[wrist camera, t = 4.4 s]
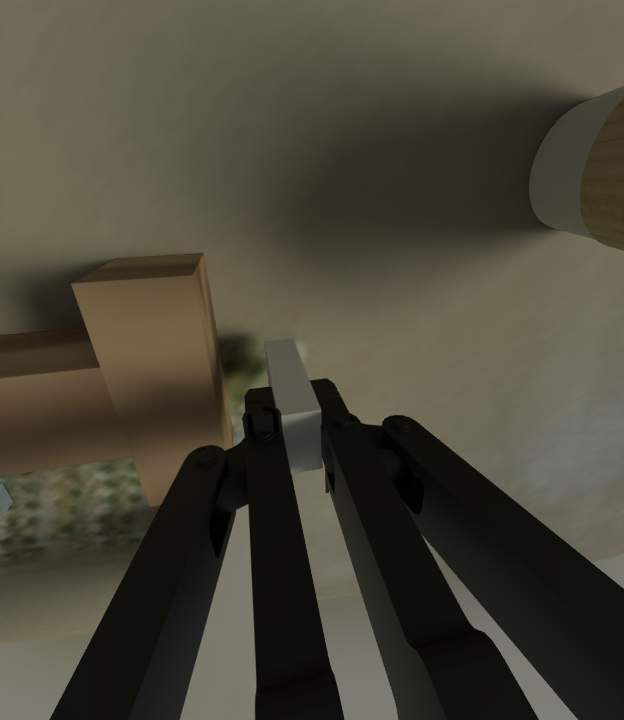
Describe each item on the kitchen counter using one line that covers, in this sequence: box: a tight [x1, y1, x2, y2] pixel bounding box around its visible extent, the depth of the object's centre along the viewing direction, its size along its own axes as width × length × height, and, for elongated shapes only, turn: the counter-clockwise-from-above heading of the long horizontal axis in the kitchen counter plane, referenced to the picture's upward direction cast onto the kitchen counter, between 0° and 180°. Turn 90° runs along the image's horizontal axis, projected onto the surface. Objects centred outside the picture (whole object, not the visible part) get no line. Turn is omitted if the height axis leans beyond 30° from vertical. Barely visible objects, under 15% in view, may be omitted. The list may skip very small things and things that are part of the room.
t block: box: [0, 253, 233, 507], centre depth 16 cm, size 11×12×5 cm
